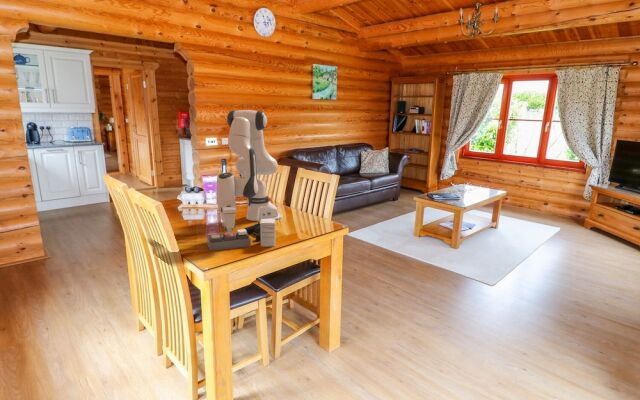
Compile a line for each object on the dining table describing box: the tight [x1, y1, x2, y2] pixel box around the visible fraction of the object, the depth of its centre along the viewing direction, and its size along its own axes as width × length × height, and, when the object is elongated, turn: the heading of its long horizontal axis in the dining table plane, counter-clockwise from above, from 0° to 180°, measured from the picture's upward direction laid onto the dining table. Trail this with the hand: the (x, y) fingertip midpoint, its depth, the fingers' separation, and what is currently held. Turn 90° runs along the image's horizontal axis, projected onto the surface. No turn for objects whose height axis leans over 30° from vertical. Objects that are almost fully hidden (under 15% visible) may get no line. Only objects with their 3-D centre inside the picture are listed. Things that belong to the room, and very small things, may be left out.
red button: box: [223, 232, 234, 237], centre depth 185 cm, size 4×4×2 cm
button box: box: [206, 231, 252, 252], centre depth 188 cm, size 20×12×6 cm, turn 113°
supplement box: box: [259, 219, 276, 248], centre depth 189 cm, size 7×7×13 cm
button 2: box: [236, 228, 247, 235], centre depth 187 cm, size 4×4×2 cm
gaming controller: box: [243, 221, 261, 242], centre depth 202 cm, size 17×6×10 cm
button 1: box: [210, 234, 220, 239], centre depth 183 cm, size 4×4×2 cm
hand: (227, 231), depth 189 cm, fingers open, 8 cm apart
